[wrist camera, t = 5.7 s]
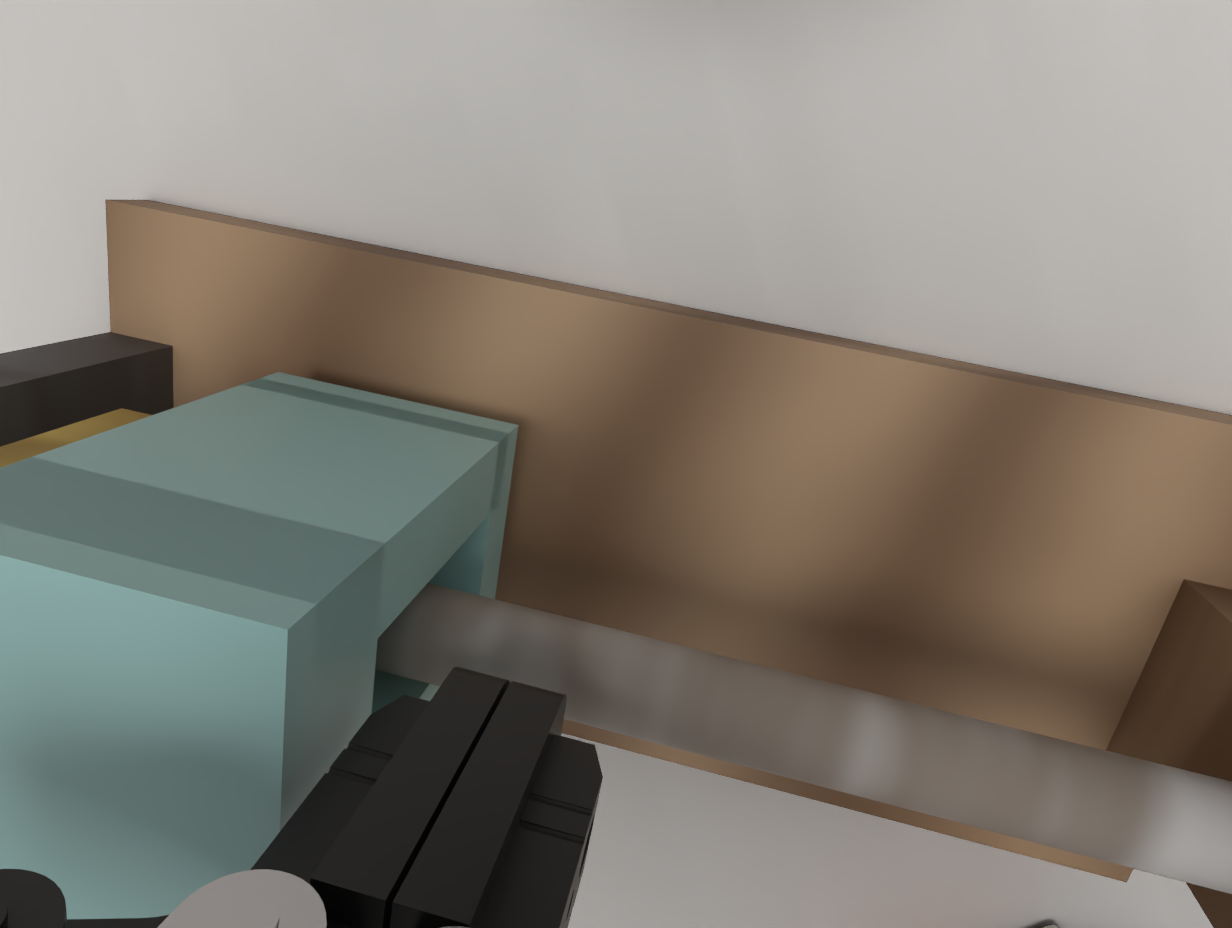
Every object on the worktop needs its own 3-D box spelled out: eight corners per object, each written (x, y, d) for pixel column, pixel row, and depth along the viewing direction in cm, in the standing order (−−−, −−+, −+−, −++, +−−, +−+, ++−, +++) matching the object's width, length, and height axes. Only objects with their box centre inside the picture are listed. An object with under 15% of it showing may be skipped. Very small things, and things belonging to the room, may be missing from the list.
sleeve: (518, 424, 16) (287, 630, 8) (488, 647, 17) (273, 986, 10) (277, 371, 16) (-144, 517, 9) (270, 592, 18) (-89, 873, 10)
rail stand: (1301, 428, 15) (1958, 710, 7) (1105, 841, 19) (1384, 1373, 10) (146, 199, 18) (-405, 197, 10) (155, 594, 21) (-247, 851, 13)
